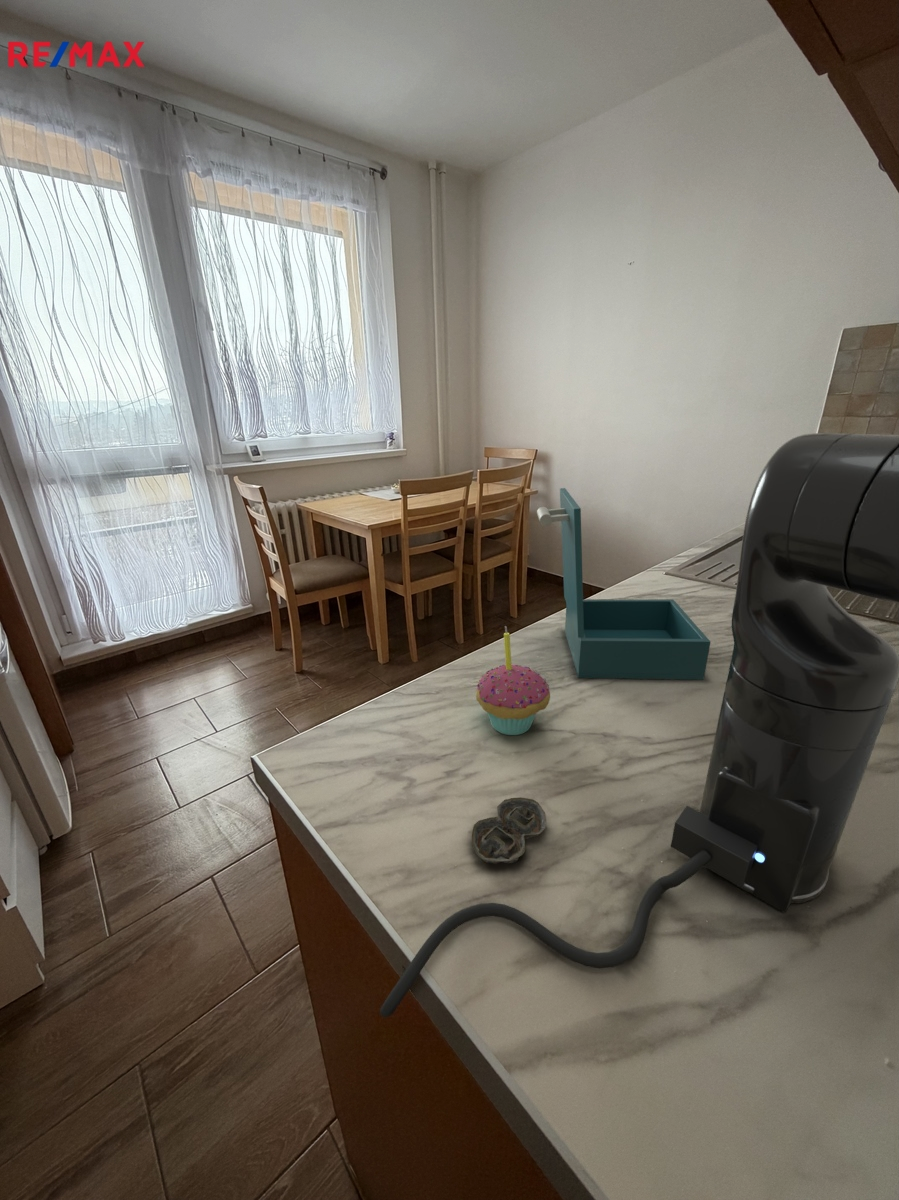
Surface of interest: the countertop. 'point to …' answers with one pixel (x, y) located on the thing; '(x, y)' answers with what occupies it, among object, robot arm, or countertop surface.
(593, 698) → the countertop surface
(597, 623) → the chest
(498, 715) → the cupcake
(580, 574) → the chest lid
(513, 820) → the corroded twin loop
